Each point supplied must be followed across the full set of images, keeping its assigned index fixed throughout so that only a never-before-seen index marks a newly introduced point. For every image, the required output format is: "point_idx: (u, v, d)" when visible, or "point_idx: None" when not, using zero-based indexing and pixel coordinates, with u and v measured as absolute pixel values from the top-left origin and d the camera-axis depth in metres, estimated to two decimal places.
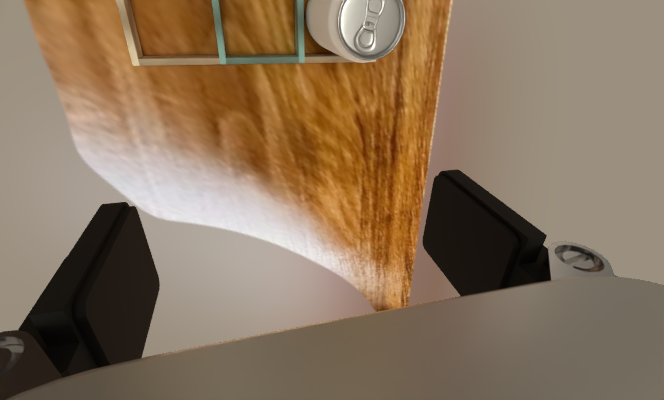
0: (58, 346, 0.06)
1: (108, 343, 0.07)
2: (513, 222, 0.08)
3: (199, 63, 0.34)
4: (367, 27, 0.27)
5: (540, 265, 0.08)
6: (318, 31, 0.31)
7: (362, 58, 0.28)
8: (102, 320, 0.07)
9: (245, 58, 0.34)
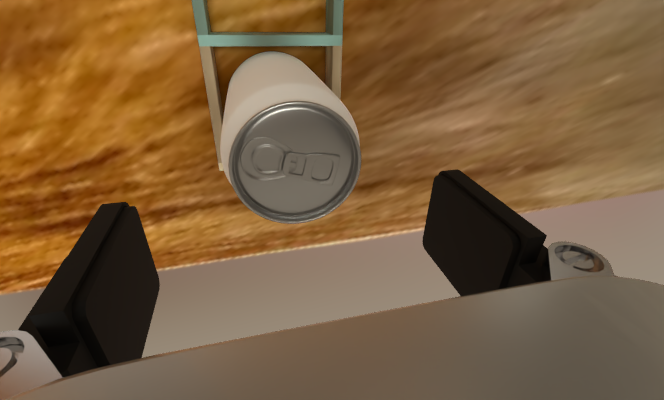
0: (58, 346, 0.06)
1: (108, 343, 0.07)
2: (513, 222, 0.08)
3: None
4: (288, 160, 0.14)
5: (540, 265, 0.08)
6: (260, 68, 0.17)
7: (231, 159, 0.13)
8: (102, 320, 0.07)
9: None
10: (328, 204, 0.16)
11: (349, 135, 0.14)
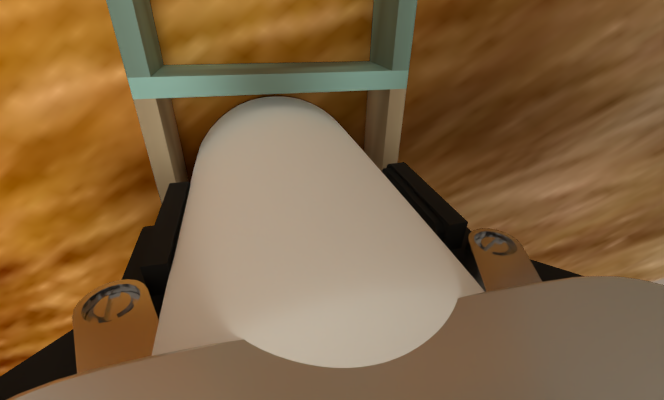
0: (159, 295, 0.07)
1: None
2: (440, 210, 0.09)
3: None
4: None
5: (464, 251, 0.09)
6: (252, 166, 0.07)
7: None
8: None
9: None
10: None
11: None
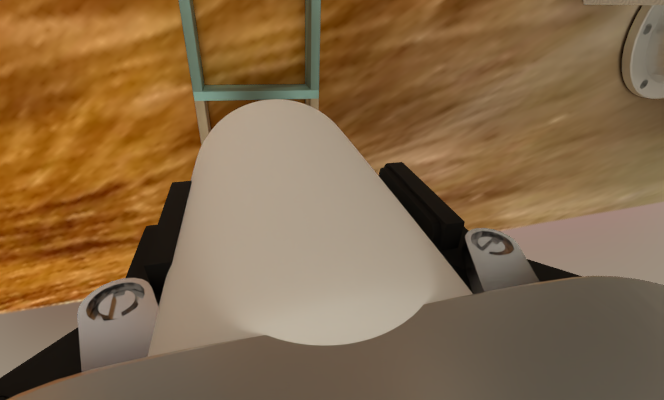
0: None
1: None
2: (437, 210, 0.09)
3: None
4: None
5: (461, 250, 0.09)
6: (245, 171, 0.08)
7: None
8: None
9: None
10: None
11: None
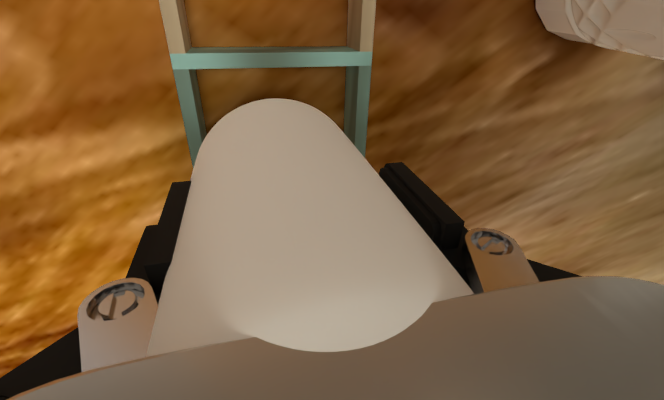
0: None
1: None
2: (437, 210, 0.09)
3: None
4: None
5: (461, 250, 0.09)
6: (245, 170, 0.08)
7: None
8: None
9: (194, 115, 0.15)
10: None
11: None
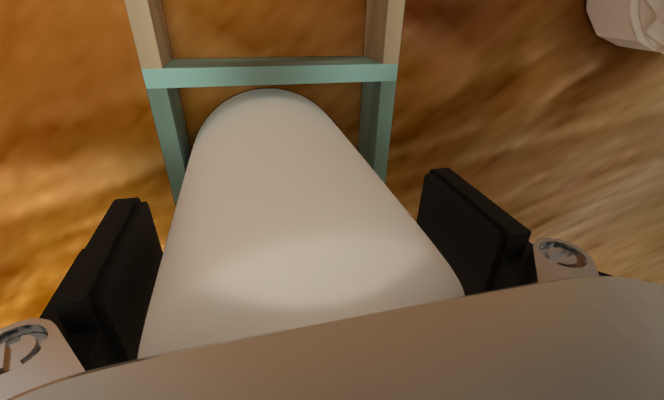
0: (78, 334, 0.06)
1: (124, 333, 0.07)
2: (499, 219, 0.08)
3: None
4: None
5: (525, 261, 0.08)
6: (243, 145, 0.08)
7: None
8: (119, 310, 0.07)
9: (176, 144, 0.12)
10: None
11: None
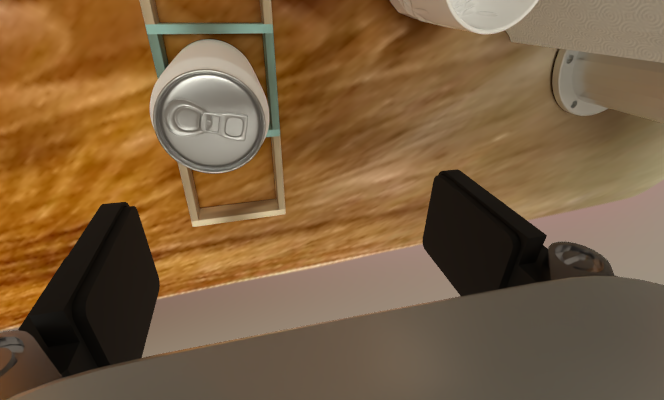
0: (58, 346, 0.06)
1: (108, 343, 0.07)
2: (513, 222, 0.08)
3: None
4: (204, 119, 0.18)
5: (540, 265, 0.08)
6: (188, 50, 0.21)
7: (155, 116, 0.17)
8: (102, 320, 0.07)
9: (162, 64, 0.24)
10: (244, 158, 0.20)
11: (254, 98, 0.18)
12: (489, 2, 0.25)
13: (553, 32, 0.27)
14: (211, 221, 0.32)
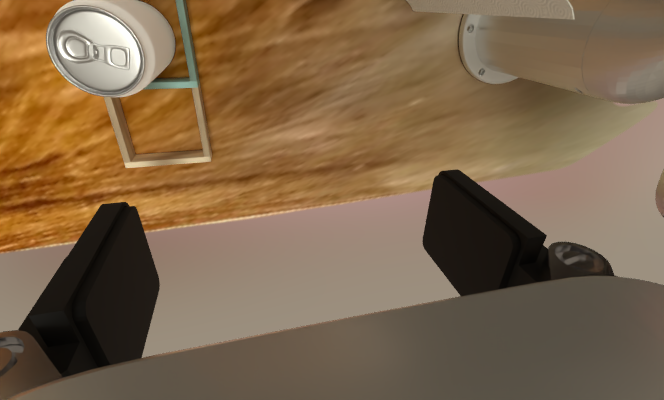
0: (58, 346, 0.06)
1: (108, 343, 0.07)
2: (513, 222, 0.08)
3: None
4: (92, 49, 0.23)
5: (540, 265, 0.08)
6: None
7: (48, 43, 0.22)
8: (102, 320, 0.07)
9: None
10: (131, 85, 0.24)
11: (132, 33, 0.23)
12: None
13: None
14: (142, 164, 0.36)
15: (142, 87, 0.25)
